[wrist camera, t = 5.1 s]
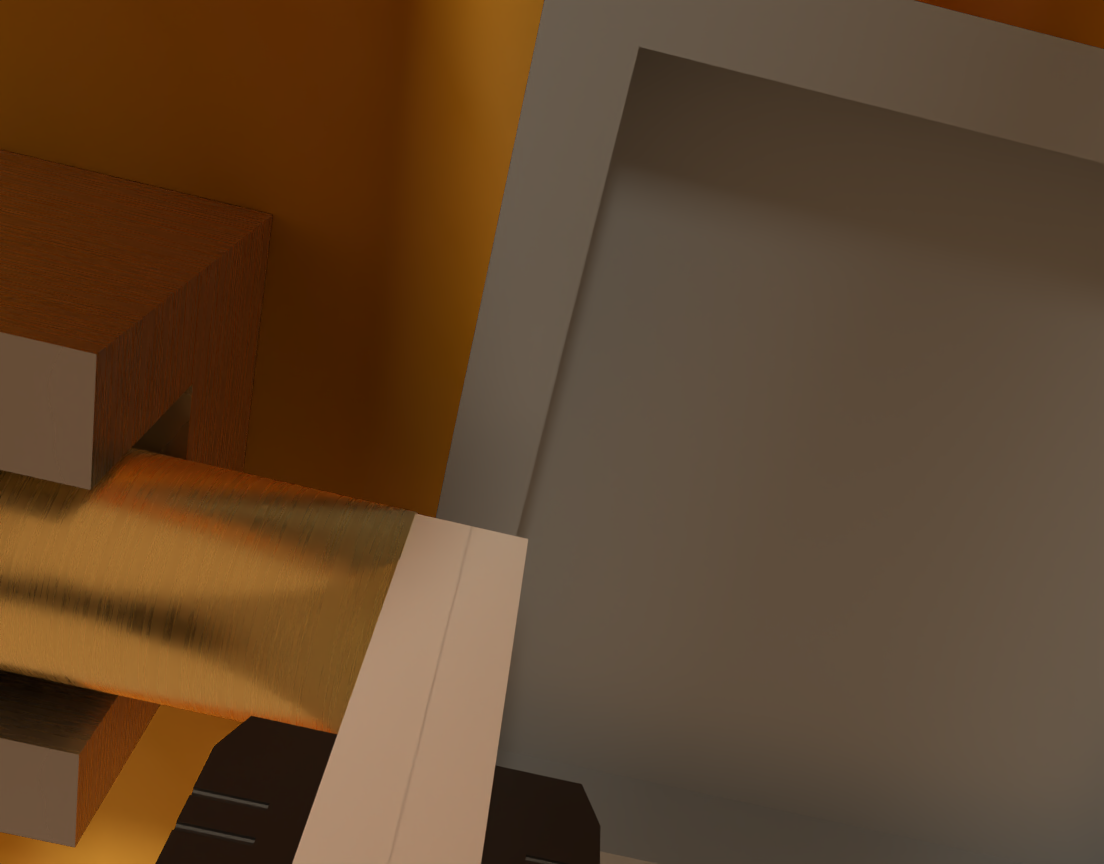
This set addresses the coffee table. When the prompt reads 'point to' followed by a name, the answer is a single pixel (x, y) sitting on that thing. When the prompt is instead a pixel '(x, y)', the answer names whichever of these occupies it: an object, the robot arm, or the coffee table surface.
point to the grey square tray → (801, 431)
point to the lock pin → (195, 587)
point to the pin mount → (110, 410)
